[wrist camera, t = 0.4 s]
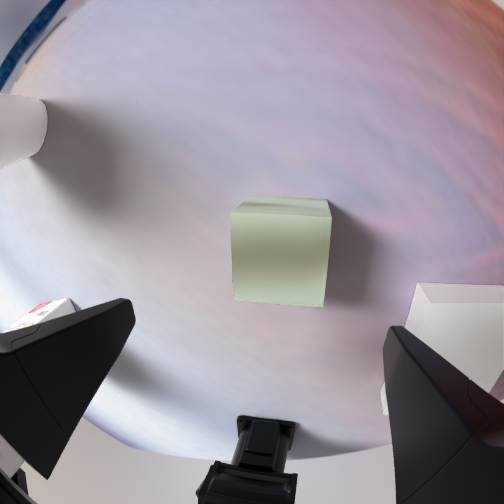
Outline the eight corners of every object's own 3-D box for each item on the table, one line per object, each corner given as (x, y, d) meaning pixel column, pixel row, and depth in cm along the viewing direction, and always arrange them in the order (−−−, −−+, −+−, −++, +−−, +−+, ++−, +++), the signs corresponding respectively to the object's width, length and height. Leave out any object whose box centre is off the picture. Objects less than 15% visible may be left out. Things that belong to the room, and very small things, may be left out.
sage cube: (321, 269, 19) (322, 307, 15) (251, 264, 20) (233, 299, 16) (326, 199, 18) (331, 217, 13) (251, 195, 18) (230, 212, 14)
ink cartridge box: (56, 333, 30) (-9, 395, 17) (40, 302, 29) (-33, 360, 16) (89, 332, 28) (12, 411, 14) (70, 296, 26) (-19, 369, 13)
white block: (474, 383, 20) (482, 402, 17) (380, 391, 22) (383, 415, 20) (519, 285, 16) (535, 301, 13) (417, 282, 18) (430, 302, 15)
